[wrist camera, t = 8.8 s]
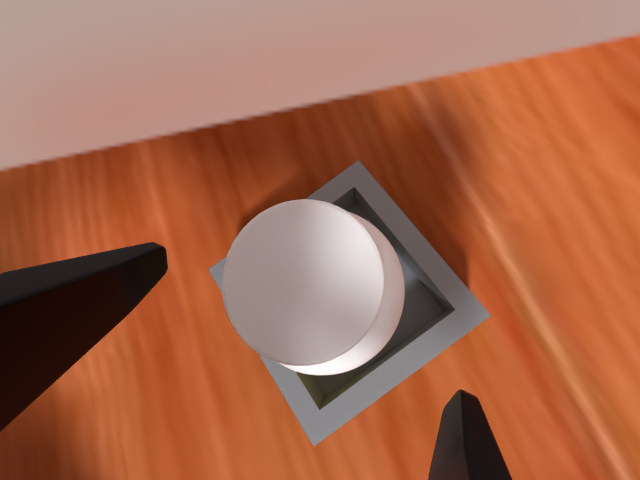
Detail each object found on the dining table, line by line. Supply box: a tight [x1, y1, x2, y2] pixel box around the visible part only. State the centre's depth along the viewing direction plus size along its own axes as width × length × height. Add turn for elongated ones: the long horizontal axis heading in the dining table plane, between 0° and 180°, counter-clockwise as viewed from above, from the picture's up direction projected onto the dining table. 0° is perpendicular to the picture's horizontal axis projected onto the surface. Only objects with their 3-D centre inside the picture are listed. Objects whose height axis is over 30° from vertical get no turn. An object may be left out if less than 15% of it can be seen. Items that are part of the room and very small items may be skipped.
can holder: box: [208, 160, 491, 446], centre depth 16 cm, size 9×9×3 cm
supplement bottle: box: [222, 199, 405, 375], centre depth 12 cm, size 5×5×10 cm
